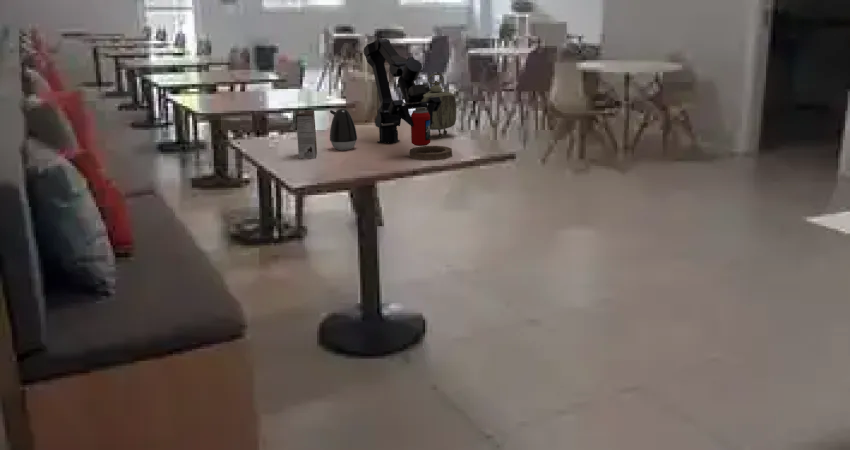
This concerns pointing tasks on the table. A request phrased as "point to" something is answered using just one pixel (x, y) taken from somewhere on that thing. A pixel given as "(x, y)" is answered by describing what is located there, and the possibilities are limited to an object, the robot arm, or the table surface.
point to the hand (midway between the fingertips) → (422, 125)
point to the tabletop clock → (441, 107)
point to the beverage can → (420, 128)
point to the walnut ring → (423, 153)
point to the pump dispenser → (342, 130)
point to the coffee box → (306, 134)
